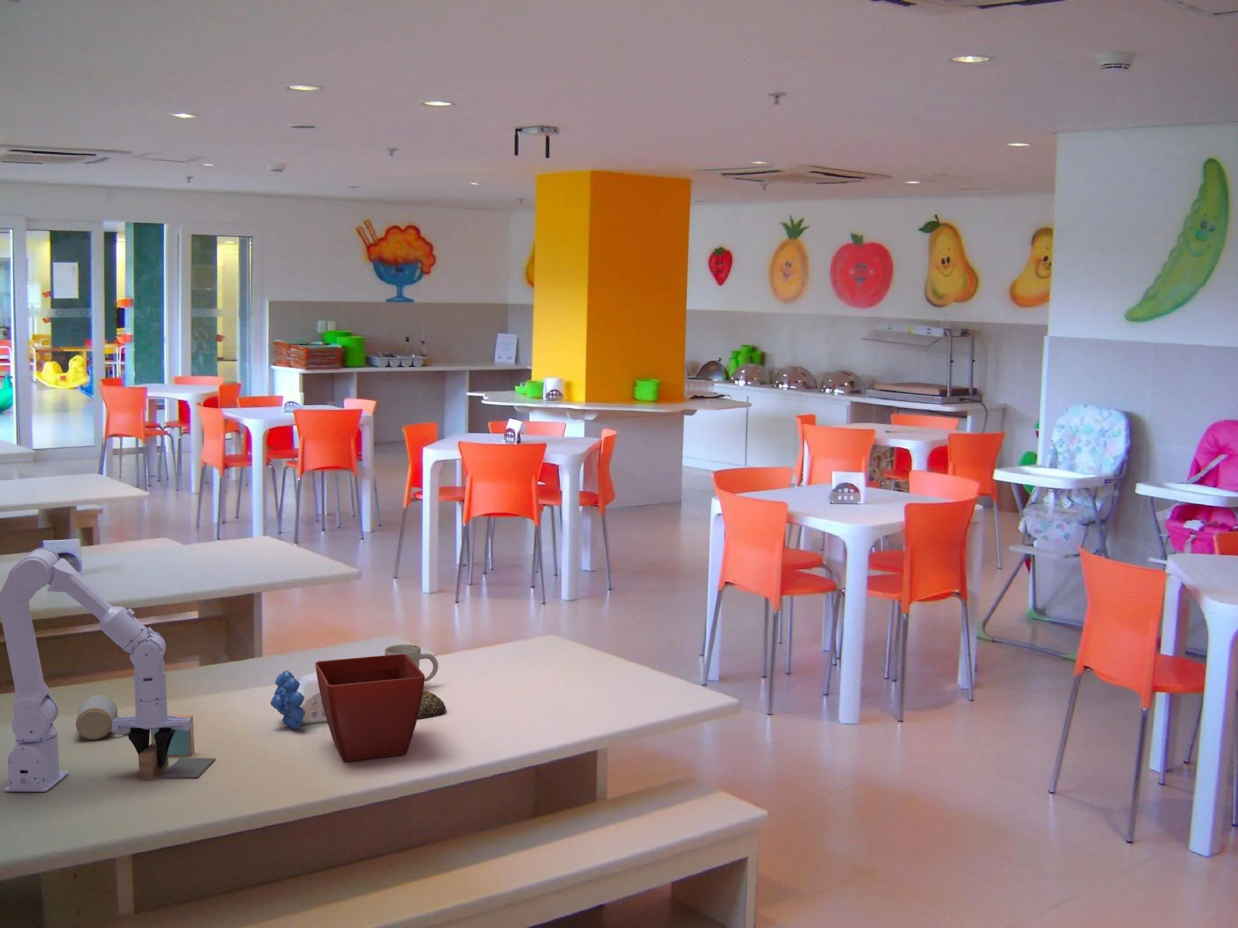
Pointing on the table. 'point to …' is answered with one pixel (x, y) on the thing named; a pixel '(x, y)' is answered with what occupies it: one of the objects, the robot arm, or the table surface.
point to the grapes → (288, 700)
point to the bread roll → (431, 705)
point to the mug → (413, 656)
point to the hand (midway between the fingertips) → (153, 765)
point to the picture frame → (180, 740)
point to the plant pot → (371, 704)
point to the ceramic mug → (97, 718)
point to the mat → (188, 768)
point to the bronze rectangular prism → (150, 763)
